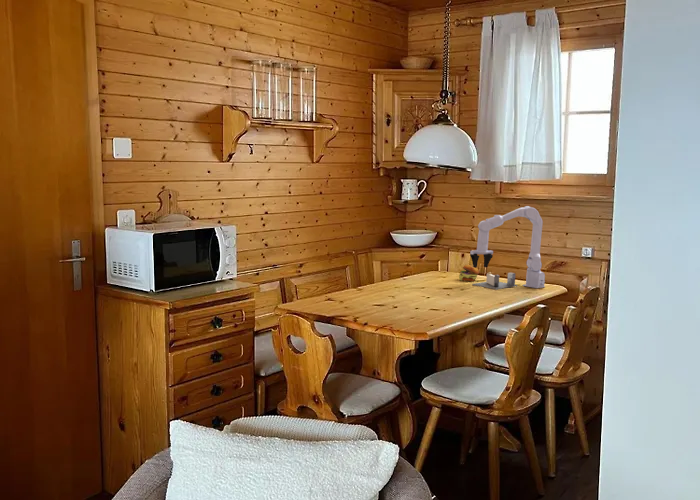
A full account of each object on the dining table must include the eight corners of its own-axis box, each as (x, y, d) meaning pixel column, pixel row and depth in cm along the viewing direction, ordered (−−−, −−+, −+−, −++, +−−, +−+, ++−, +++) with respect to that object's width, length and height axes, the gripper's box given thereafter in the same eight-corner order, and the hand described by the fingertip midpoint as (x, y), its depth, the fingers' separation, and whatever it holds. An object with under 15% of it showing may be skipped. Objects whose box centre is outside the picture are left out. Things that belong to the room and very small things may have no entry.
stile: (517, 285, 382) (518, 273, 381) (510, 286, 378) (511, 274, 377) (510, 283, 386) (510, 272, 385) (503, 285, 382) (504, 273, 381)
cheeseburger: (454, 279, 399) (458, 262, 399) (468, 282, 403) (473, 265, 403) (464, 281, 390) (468, 264, 389) (479, 285, 394) (483, 268, 394)
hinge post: (499, 287, 375) (500, 275, 374) (496, 287, 373) (497, 275, 372) (495, 286, 377) (496, 274, 376) (493, 286, 375) (493, 275, 374)
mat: (517, 286, 383) (517, 285, 383) (496, 289, 370) (496, 288, 370) (493, 281, 395) (493, 280, 395) (472, 285, 382) (472, 283, 382)
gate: (496, 285, 377) (497, 274, 376) (493, 285, 376) (494, 274, 375) (489, 282, 386) (490, 271, 386) (486, 282, 386) (486, 271, 385)
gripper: (488, 241, 388) (485, 265, 390) (467, 241, 381) (465, 266, 382) (496, 243, 382) (494, 268, 384) (476, 243, 374) (473, 268, 376)
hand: (480, 267), depth 383 cm, fingers open, 7 cm apart
